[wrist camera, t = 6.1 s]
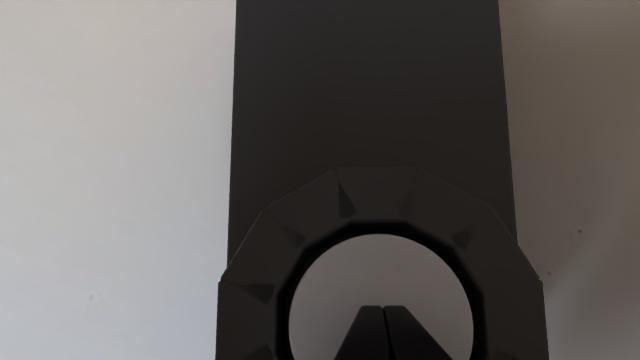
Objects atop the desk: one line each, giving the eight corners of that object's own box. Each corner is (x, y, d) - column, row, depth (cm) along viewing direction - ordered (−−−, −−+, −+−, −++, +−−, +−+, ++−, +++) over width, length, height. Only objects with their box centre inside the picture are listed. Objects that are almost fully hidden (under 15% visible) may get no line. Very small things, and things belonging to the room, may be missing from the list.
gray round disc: (456, 405, 12) (480, 426, 10) (295, 404, 12) (286, 425, 10) (448, 243, 13) (468, 232, 11) (296, 243, 13) (289, 233, 11)
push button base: (478, 423, 17) (577, 510, 10) (252, 422, 17) (196, 506, 10) (454, 17, 20) (517, -133, 13) (262, 21, 20) (223, -126, 13)
